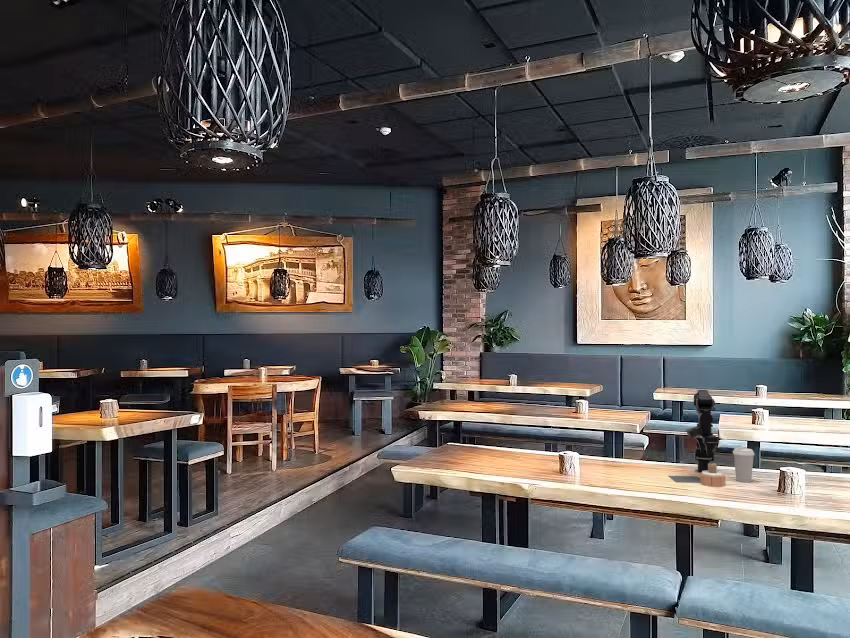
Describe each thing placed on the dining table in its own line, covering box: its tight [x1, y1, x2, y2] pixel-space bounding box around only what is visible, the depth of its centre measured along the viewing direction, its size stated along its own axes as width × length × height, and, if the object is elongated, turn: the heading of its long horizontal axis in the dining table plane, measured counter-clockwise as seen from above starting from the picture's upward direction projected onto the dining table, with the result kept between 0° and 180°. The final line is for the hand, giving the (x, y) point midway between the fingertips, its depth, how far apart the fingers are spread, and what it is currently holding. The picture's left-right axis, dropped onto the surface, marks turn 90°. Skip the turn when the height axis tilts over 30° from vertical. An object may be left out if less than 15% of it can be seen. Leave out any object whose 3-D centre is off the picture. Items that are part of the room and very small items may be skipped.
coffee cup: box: [732, 447, 755, 483], centre depth 309 cm, size 10×10×15 cm
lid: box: [702, 462, 724, 477], centre depth 300 cm, size 9×9×5 cm
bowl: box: [699, 473, 726, 488], centre depth 300 cm, size 10×10×5 cm
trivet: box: [667, 475, 701, 484], centre depth 310 cm, size 14×14×1 cm
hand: (705, 454), depth 313 cm, fingers open, 9 cm apart
